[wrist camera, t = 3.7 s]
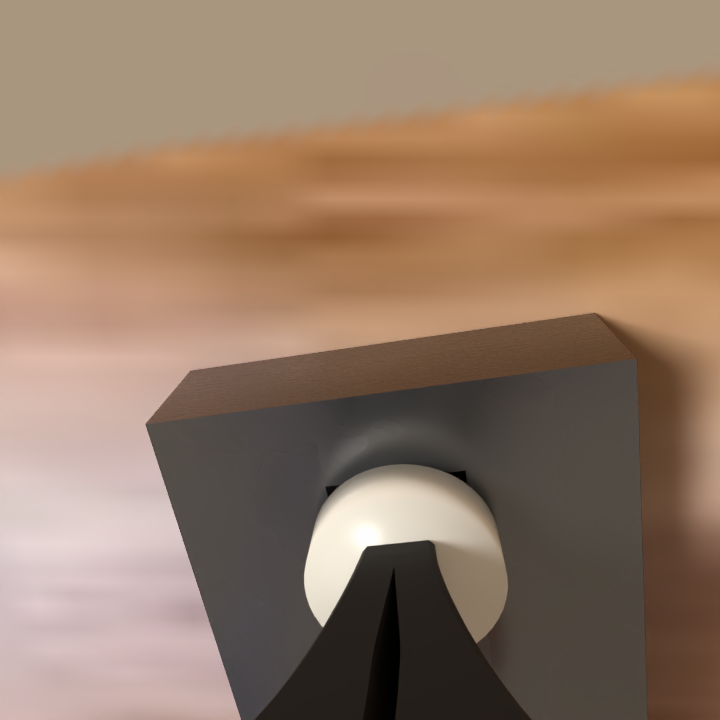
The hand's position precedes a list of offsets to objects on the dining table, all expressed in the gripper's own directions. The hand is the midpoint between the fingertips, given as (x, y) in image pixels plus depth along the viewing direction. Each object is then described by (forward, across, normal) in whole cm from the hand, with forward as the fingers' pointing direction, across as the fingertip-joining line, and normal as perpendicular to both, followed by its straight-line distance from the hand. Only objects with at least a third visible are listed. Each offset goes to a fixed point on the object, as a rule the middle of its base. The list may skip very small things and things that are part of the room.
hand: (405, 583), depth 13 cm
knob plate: (+4, 0, +6) cm, 8 cm away
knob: (+4, 0, 0) cm, 4 cm away
